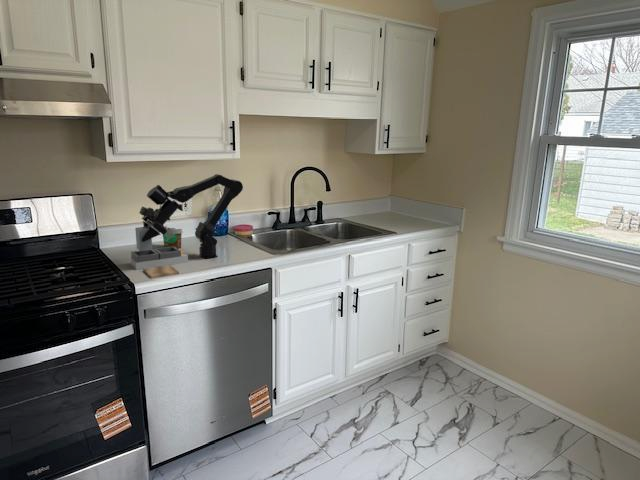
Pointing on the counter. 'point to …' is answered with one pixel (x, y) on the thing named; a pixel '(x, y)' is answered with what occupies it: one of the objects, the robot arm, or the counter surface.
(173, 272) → the walnut board
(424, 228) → the counter surface
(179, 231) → the food container
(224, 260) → the counter surface
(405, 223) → the counter surface
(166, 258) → the power strip
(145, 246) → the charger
